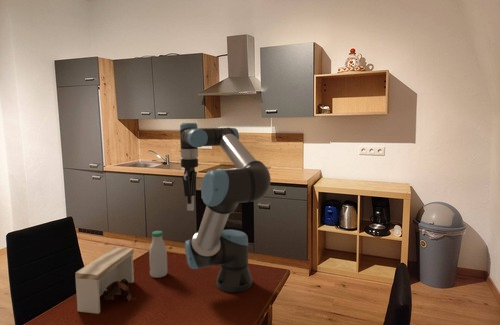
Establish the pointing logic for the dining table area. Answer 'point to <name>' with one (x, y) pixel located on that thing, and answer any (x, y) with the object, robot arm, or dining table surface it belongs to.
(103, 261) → the small wooden bench
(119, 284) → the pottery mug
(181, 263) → the dining table surface
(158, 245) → the milk bottle
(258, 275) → the dining table surface
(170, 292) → the dining table surface
